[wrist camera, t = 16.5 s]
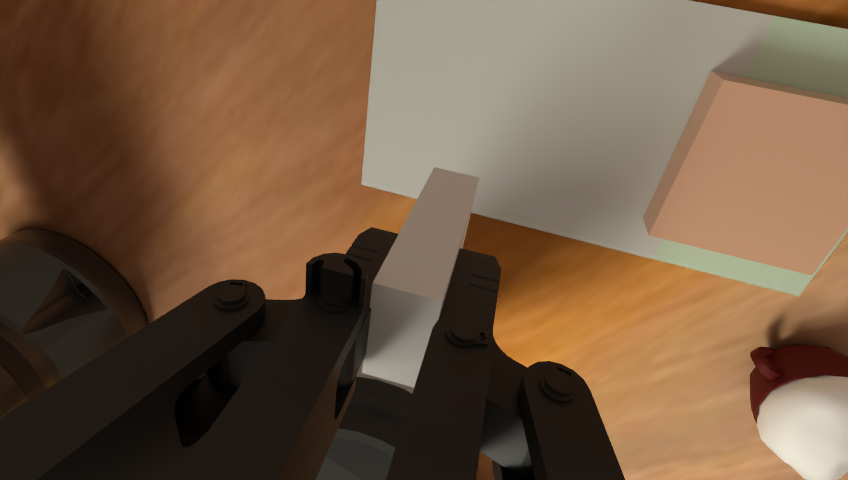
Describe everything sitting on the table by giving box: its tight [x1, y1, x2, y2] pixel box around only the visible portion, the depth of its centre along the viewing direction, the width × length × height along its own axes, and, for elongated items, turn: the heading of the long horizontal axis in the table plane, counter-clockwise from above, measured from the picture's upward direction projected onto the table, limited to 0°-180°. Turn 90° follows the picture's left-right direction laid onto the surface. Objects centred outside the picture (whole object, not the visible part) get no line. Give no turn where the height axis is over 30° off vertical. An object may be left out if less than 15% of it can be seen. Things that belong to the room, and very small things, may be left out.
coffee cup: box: [316, 362, 414, 480], centre depth 27 cm, size 8×8×15 cm
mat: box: [361, 0, 848, 296], centre depth 25 cm, size 26×13×1 cm, turn 82°
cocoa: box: [750, 344, 848, 480], centre depth 24 cm, size 10×6×12 cm, turn 33°
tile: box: [643, 71, 848, 275], centre depth 23 cm, size 2×8×8 cm
